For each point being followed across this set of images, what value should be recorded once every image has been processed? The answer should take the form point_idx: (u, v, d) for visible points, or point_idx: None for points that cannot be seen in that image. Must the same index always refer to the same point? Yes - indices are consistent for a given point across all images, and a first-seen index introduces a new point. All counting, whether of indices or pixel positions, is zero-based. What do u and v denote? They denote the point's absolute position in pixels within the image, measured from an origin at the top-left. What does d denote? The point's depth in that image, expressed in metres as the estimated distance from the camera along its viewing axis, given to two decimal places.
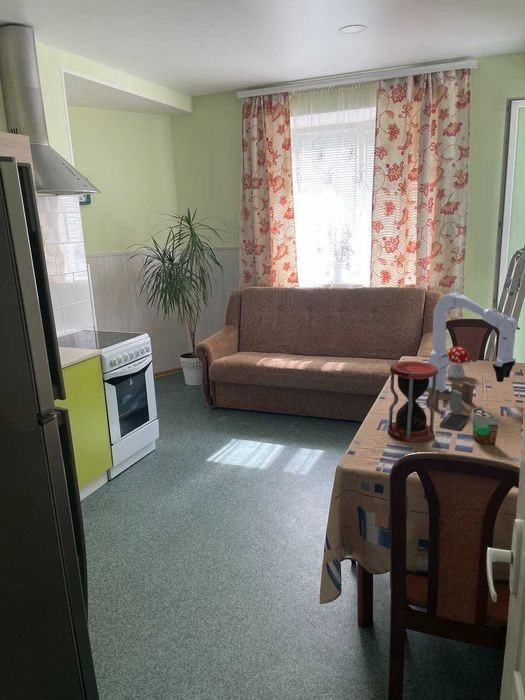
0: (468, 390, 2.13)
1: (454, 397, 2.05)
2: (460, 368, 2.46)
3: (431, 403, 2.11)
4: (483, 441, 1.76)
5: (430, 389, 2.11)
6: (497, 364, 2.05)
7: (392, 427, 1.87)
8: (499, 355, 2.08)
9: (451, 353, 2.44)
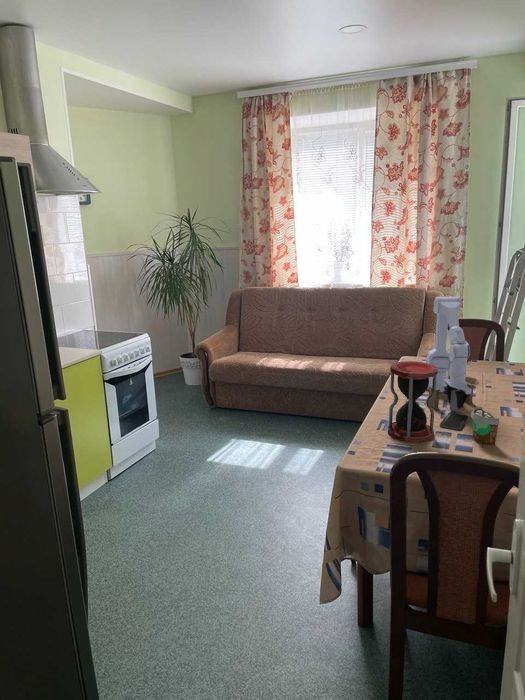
0: None
1: (454, 397, 2.05)
2: None
3: (431, 403, 2.11)
4: (483, 441, 1.76)
5: (430, 389, 2.11)
6: (468, 392, 1.97)
7: (392, 427, 1.87)
8: (458, 382, 2.01)
9: None
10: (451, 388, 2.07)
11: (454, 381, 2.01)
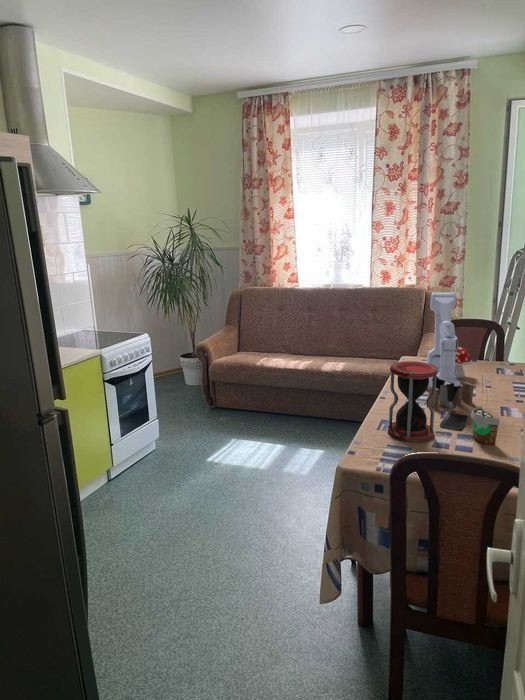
0: (468, 390, 2.13)
1: (443, 392, 2.12)
2: (460, 368, 2.46)
3: (431, 403, 2.11)
4: (483, 441, 1.76)
5: (430, 389, 2.11)
6: (456, 384, 2.04)
7: (392, 427, 1.87)
8: (447, 375, 2.07)
9: None
10: (439, 380, 2.14)
11: (443, 374, 2.08)
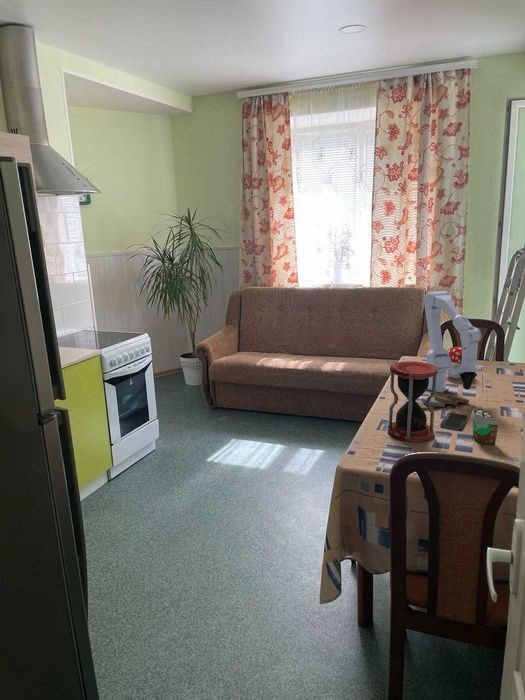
0: (456, 401, 2.13)
1: None
2: None
3: None
4: (483, 441, 1.76)
5: None
6: (452, 372, 2.11)
7: (392, 427, 1.87)
8: (461, 364, 2.13)
9: (451, 353, 2.44)
10: None
11: None
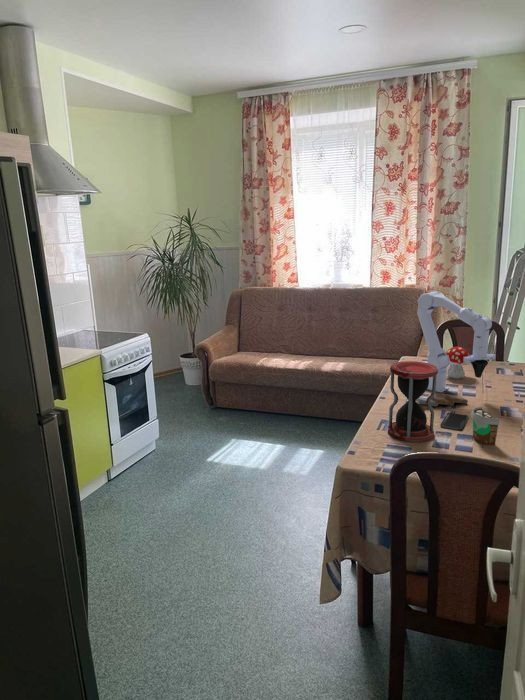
0: None
1: None
2: (460, 368, 2.46)
3: None
4: (483, 441, 1.76)
5: None
6: (464, 360, 2.14)
7: (392, 427, 1.87)
8: None
9: (451, 353, 2.44)
10: None
11: None
